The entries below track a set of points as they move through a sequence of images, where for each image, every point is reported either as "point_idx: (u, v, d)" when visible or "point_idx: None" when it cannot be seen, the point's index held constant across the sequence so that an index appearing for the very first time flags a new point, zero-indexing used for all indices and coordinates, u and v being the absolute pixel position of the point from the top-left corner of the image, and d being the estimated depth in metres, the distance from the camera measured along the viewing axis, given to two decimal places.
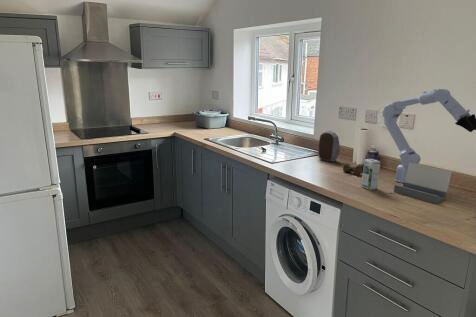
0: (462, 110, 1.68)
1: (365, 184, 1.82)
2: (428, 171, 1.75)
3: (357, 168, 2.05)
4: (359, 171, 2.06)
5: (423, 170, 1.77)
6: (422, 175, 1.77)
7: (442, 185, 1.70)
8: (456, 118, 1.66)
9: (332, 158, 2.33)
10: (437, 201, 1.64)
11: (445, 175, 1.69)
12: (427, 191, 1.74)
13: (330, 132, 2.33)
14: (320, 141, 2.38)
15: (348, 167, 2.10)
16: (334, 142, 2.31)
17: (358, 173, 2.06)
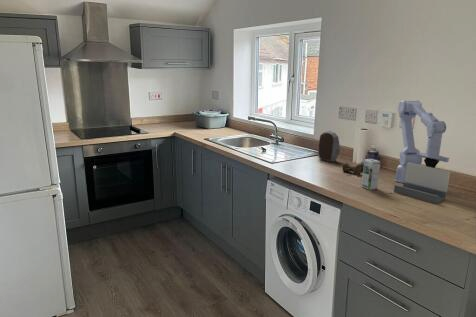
0: None
1: (365, 184, 1.82)
2: (427, 171, 1.74)
3: (357, 168, 2.06)
4: (359, 171, 2.07)
5: (422, 170, 1.76)
6: (421, 175, 1.77)
7: (442, 185, 1.70)
8: (447, 160, 1.69)
9: (332, 158, 2.33)
10: (437, 201, 1.64)
11: (444, 175, 1.68)
12: (427, 191, 1.74)
13: (330, 132, 2.33)
14: (320, 141, 2.38)
15: (348, 167, 2.11)
16: (334, 142, 2.31)
17: (358, 173, 2.07)
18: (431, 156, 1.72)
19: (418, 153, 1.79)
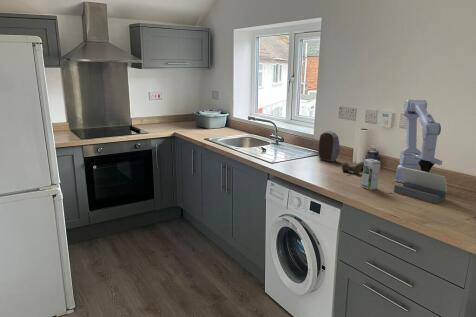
0: None
1: (365, 184, 1.82)
2: (422, 175, 1.72)
3: (357, 167, 2.06)
4: (359, 170, 2.08)
5: (417, 174, 1.74)
6: (418, 178, 1.75)
7: (440, 187, 1.69)
8: (440, 163, 1.65)
9: (332, 158, 2.33)
10: (437, 201, 1.64)
11: (440, 179, 1.66)
12: (427, 191, 1.74)
13: (330, 132, 2.33)
14: (320, 141, 2.38)
15: (347, 166, 2.11)
16: (334, 142, 2.31)
17: (358, 172, 2.07)
18: (424, 158, 1.69)
19: (414, 155, 1.76)
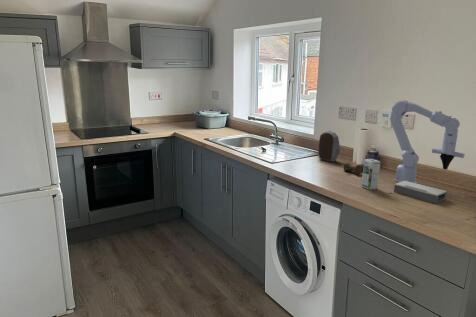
0: None
1: (365, 184, 1.82)
2: None
3: (357, 168, 2.06)
4: (359, 171, 2.07)
5: None
6: None
7: None
8: (463, 156, 1.75)
9: (332, 158, 2.33)
10: (437, 201, 1.64)
11: None
12: None
13: (330, 132, 2.33)
14: (320, 141, 2.38)
15: (348, 166, 2.11)
16: (334, 142, 2.31)
17: (358, 173, 2.07)
18: (447, 152, 1.78)
19: (434, 149, 1.85)
